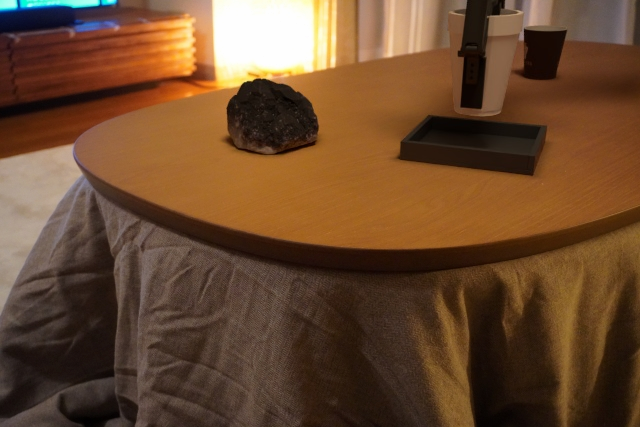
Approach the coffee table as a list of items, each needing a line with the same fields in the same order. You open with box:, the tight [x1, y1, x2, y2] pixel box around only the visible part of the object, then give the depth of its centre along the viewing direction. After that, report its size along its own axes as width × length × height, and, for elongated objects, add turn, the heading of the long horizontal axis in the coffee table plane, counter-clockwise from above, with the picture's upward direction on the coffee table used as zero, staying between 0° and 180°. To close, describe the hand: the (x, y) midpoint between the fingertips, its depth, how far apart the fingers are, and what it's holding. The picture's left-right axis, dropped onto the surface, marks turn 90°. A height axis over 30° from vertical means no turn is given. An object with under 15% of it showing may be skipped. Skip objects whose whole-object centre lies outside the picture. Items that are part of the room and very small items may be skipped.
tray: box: [399, 114, 548, 176], centre depth 88 cm, size 18×15×3 cm
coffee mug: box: [523, 24, 568, 81], centre depth 131 cm, size 12×9×10 cm
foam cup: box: [447, 8, 525, 117], centre depth 83 cm, size 10×9×13 cm
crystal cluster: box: [225, 77, 320, 155], centre depth 93 cm, size 13×14×10 cm
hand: (478, 98), depth 85 cm, fingers closed on foam cup, 9 cm apart
